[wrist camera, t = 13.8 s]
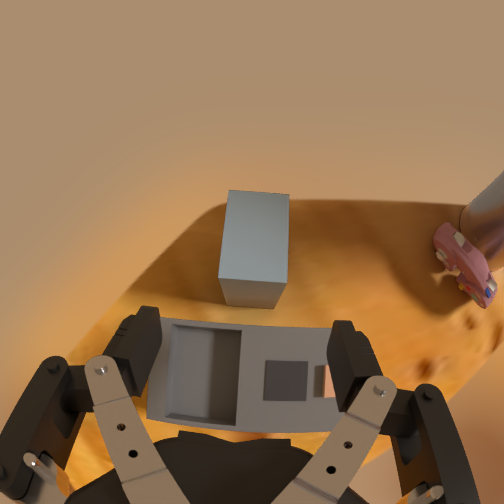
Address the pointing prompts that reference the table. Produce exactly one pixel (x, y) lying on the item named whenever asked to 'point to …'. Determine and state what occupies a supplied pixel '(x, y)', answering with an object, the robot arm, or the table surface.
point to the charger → (254, 249)
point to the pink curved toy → (465, 264)
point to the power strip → (242, 378)
